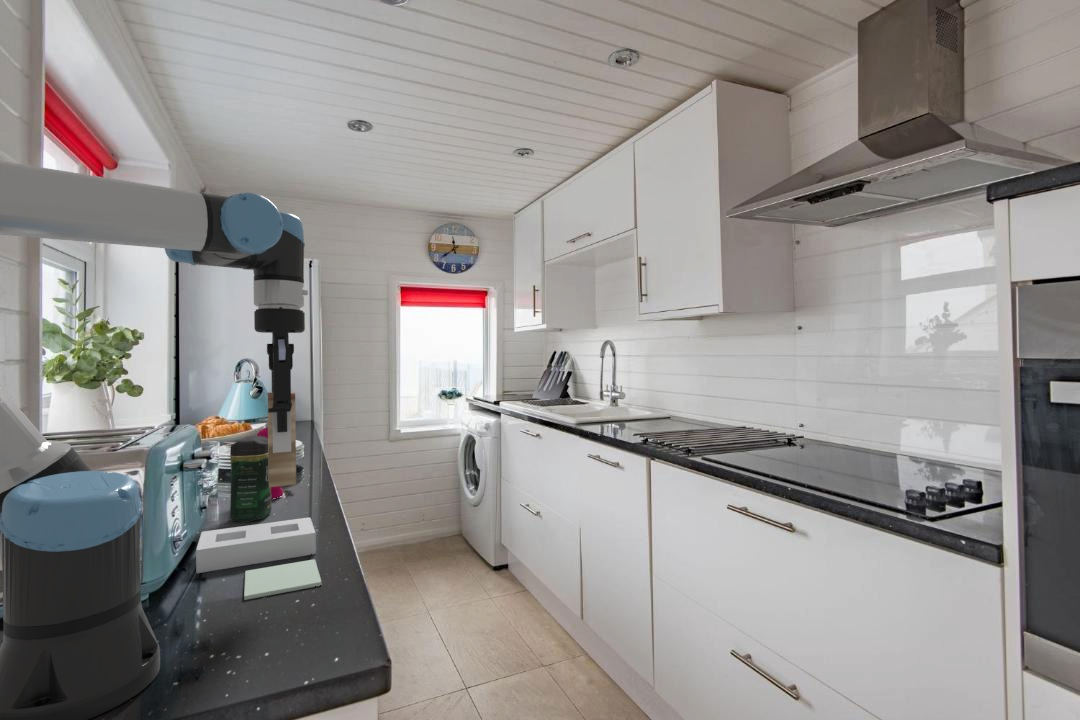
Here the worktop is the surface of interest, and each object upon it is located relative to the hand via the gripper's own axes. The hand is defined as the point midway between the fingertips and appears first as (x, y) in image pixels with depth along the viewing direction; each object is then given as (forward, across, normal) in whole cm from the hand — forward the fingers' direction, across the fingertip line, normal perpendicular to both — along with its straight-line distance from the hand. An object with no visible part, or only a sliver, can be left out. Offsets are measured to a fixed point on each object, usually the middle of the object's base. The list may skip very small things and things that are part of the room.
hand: (281, 449), depth 90 cm
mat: (+22, 0, 0) cm, 22 cm away
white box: (+22, +16, +4) cm, 27 cm away
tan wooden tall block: (+6, 0, 0) cm, 6 cm away
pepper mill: (+22, +60, +1) cm, 64 cm away
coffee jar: (+22, +42, +5) cm, 48 cm away
